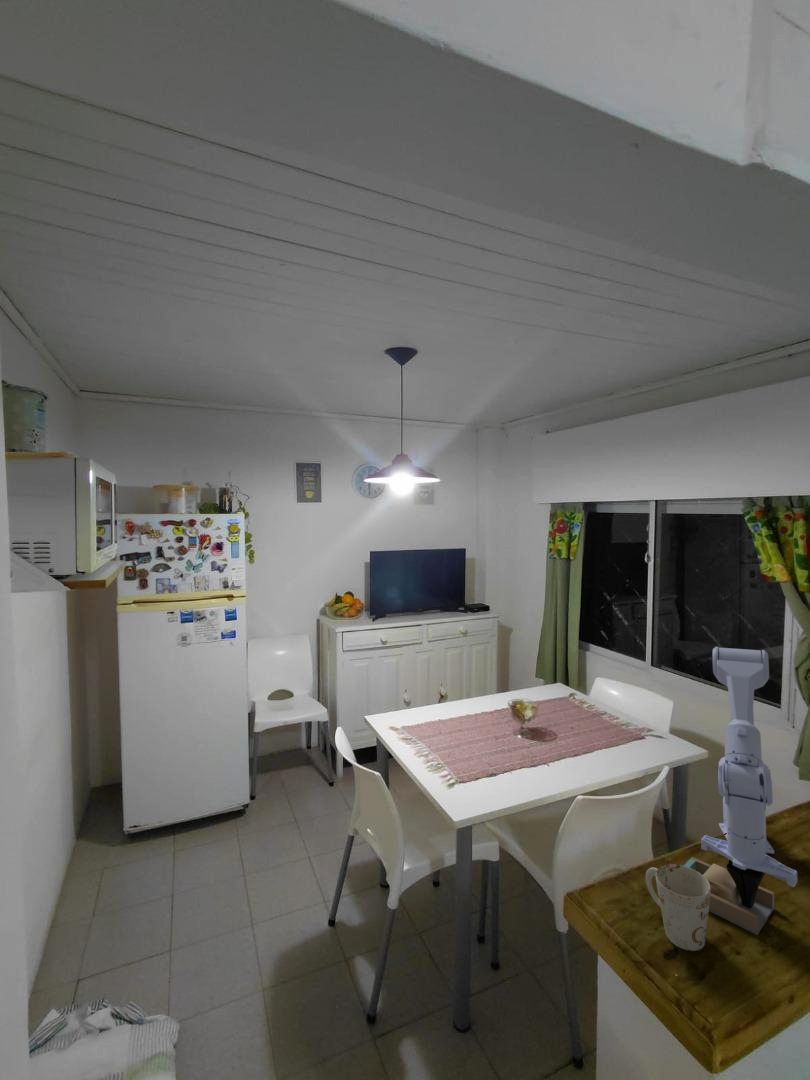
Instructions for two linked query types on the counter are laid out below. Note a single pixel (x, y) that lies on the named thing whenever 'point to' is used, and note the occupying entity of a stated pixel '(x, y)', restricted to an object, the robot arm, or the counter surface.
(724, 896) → the tan wooden block
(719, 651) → the robot arm
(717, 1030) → the counter surface
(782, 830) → the counter surface
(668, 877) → the mug
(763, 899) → the bay
